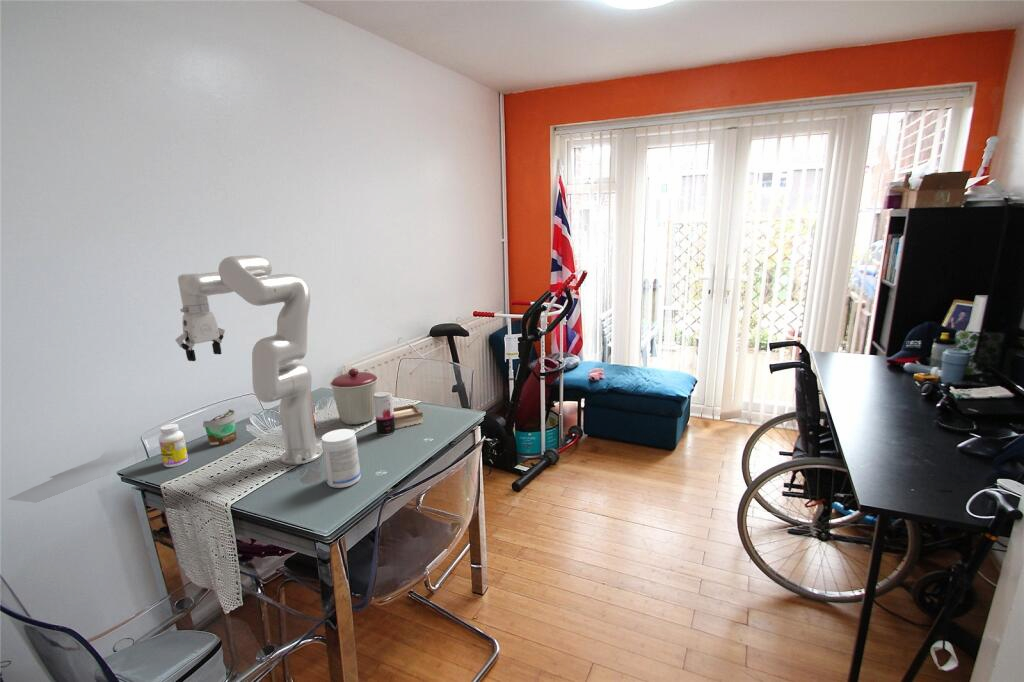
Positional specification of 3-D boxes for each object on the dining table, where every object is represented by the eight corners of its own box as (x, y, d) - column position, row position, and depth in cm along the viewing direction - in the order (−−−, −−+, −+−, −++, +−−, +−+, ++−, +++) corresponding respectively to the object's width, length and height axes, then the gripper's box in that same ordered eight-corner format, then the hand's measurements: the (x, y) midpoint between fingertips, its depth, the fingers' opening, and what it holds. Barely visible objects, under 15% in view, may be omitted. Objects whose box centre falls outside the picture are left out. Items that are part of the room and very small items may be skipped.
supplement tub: (367, 476, 142) (363, 431, 139) (344, 492, 134) (339, 444, 131) (343, 470, 146) (338, 426, 143) (319, 485, 138) (313, 438, 135)
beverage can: (392, 435, 171) (389, 396, 168) (374, 435, 171) (370, 396, 168) (397, 428, 178) (394, 390, 174) (380, 428, 178) (376, 390, 175)
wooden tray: (423, 423, 182) (422, 412, 181) (394, 428, 177) (393, 418, 176) (415, 413, 192) (414, 404, 191) (388, 419, 187) (387, 409, 186)
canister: (386, 410, 196) (381, 361, 192) (376, 427, 179) (371, 374, 174) (341, 412, 195) (336, 363, 191) (328, 430, 178) (321, 376, 173)
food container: (222, 449, 164) (217, 422, 161) (207, 448, 165) (202, 421, 163) (248, 435, 175) (244, 409, 173) (233, 434, 177) (229, 408, 174)
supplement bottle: (159, 466, 153) (151, 429, 150) (179, 457, 159) (172, 421, 156) (173, 469, 150) (165, 431, 147) (193, 460, 156) (186, 423, 154)
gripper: (179, 313, 154) (188, 364, 158) (226, 306, 170) (234, 352, 174) (163, 313, 157) (173, 363, 161) (211, 305, 173) (219, 351, 177)
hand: (205, 357), depth 167 cm, fingers open, 9 cm apart
